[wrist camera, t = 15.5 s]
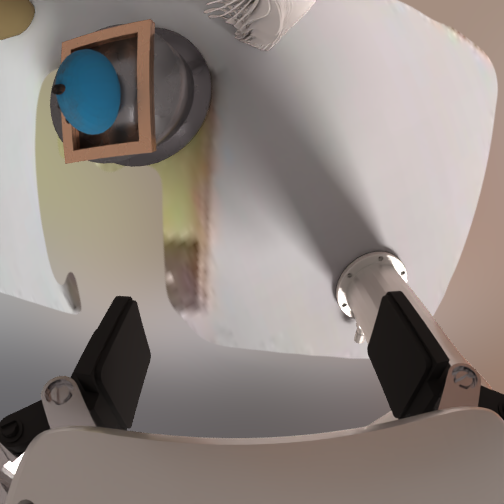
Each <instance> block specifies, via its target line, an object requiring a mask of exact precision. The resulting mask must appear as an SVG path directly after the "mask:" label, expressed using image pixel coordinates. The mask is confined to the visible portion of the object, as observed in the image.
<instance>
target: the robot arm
mask: <svg viewBox="0 0 504 504" xmlns="http://www.w3.org/2000/svg"><path fill="white" fill-rule="evenodd" d="M336 297H337V301H338V304H339V306H340V308H341V310H342V311H343V312H344V313H345V314H346V315H348V316H349V317H352V318H354V319H356V322H357V323H356V326H357V330H356V334H355V337H354V341H355V342H356V343H363V342H364V341H365V339H366V341H367V343H368V349H367V350H368V355H369V358H370V360H371V362H372V365H373V367H374V369H375V371H376V374H377V376H378V379H379V381H380V383H381V386H382V388H383V391H384V393H385V395H386V398H387V401H388V403H389V406H390V408H391V411H390V412H388V413H387V414H385V415H384V416H382V417H381V418H379V419H377V420H376V421H375V422H373V423H371V424H370V425H368V426H365V427H360V428H354V429H348V430H341V431H334V432H326V433H319V434H309V435H299V436H287V437H269V438H201V437H183V436H171V435H161V434H151V433H142V432H134V431H127V428H131V426H132V422H133V419H134V415H135V411H136V407H137V404H138V400H139V397H140V393H141V389H142V386H143V383H144V379H145V376H146V373H147V369H148V366H149V363H150V358H151V354H150V349H149V346H148V342H147V339H146V335H145V332H144V328H143V325H142V321H141V317H140V313H139V310H138V305H137V302H136V301H134V300H132V298H131V297H126V296H116V297H115V299H114V300H113V302H112V304H111V306H110V308H109V309H108V311H107V313H106V314H105V316H104V318H103V320H102V321H101V323H100V325H99V327H98V329H96V331H95V332H94V334H93V335H92V337H91V339H90V341H89V343H88V345H87V346H86V348H85V350H84V352H83V354H82V356H81V358H80V360H79V362H78V364H77V366H76V368H75V370H74V372H73V374H72V376H71V378H70V377H66V376H59V377H55V378H53V379H51V380H50V381H48V382H47V383H46V384H45V386H44V387H43V389H42V392H41V399H42V400H40V401H38V402H36V403H34V404H32V405H30V406H28V407H25V408H23V409H21V410H19V411H17V412H15V413H13V414H10V415H8V416H6V417H5V418H3V420H1V422H0V504H504V394H501V393H499V392H496V391H494V390H493V389H492V388H491V386H490V385H489V384H488V382H486V380H485V379H484V378H483V377H482V376H481V375H480V374H479V373H478V372H477V370H476V369H474V367H472V366H471V364H470V363H469V362H468V361H467V360H466V359H465V358H464V357H463V355H462V354H461V353H460V352H459V351H458V349H457V348H456V347H455V346H454V344H453V343H452V342H451V340H450V339H449V338H448V337H447V335H446V334H445V333H444V331H443V330H442V328H441V327H440V326H439V324H438V323H437V322H436V320H435V319H434V318H433V316H432V315H431V314H430V312H429V311H428V310H427V308H426V307H425V306H424V304H423V303H422V302H421V301H420V299H419V298H418V297H417V295H416V294H415V293H414V292H413V290H412V289H411V288H410V287H409V285H408V284H407V272H406V268H405V266H404V264H403V263H402V262H401V261H400V260H399V259H398V258H397V257H396V256H395V255H393V254H391V253H387V252H372V253H368V254H365V255H363V256H361V257H359V258H357V259H356V260H355V261H353V262H352V263H351V264H350V265H349V266H348V267H347V268H346V269H345V270H344V272H343V273H342V275H341V277H340V279H339V281H338V284H337V288H336Z"/></svg>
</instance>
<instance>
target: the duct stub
mask: <svg viewBox="0 0 504 504" xmlns="http://www.w3.org/2000/svg"><path fill="white" fill-rule="evenodd" d="M83 49H90V50H94V51H97V52H100V53H101V54H103V55H104V56H105V57H106V58H107V59H108V60H109V61H110V62H111V63H112V65H113V67H114V69H115V71H116V73H117V76H118V79H119V83H120V92H121V98H120V107H119V111H118V116H117V118H116V120H115V121H114V123H113V125H112V126H111V127H110V128H109V129H107V130H106V131H105V132H103V133H100V134H94V135H91V134H86V133H83V132H81V133H80V132H79V131H78V130H77V129H76V128H74V127H73V126H72V125H71V124H70V123H69V124H68V123H67V122H66V120H65V117H64V115H63V113H62V112H61V109H59V108H58V101H57V97H56V94H53V93H52V91H51V100H50V108H51V116H52V121H53V124H54V127H55V130H56V132H57V134H58V136H59V138H60V139H61V141H62V142H63V145H64V155H65V163H66V164H67V163H73V162H79V161H85V160H88V161H92V162H96V163H116V164H120V165H124V166H145V165H150V164H154V163H157V162H160V161H162V160H164V159H167V158H168V157H170V156H172V155H174V154H175V153H177V152H178V151H179V150H181V149H182V148H183V147H185V146H186V145H187V144H188V143H189V142H190V141H191V140H192V139H193V137H194V136H195V135H196V134H197V132H198V131H199V129H200V128H201V126H202V124H203V122H204V120H205V118H206V116H207V113H208V110H209V107H210V102H211V94H212V84H211V77H210V72H209V69H208V66H207V64H206V61H205V60H204V58H203V56H202V55H201V53H200V52H199V51H198V49H197V48H196V47H195V46H194V45H193V44H192V43H191V42H190V41H189V40H187V39H186V38H184V37H183V36H181V35H180V34H177V33H175V32H173V31H170V30H166V29H161V28H155V23H154V22H153V21H152V20H151V19H149V20H143V21H138V22H133V23H129V24H120V25H113V26H109V27H106V28H103V29H100V30H98V31H96V32H93V33H90V34H87V35H83V36H80V37H77V38H74V39H71V40H68V41H65V42H63V43H62V52H61V63H62V62H63V61H64V59H65V58H66V57H67V56H69V55H70V54H72V53H73V52H75V51H78V50H83ZM57 72H58V71H57ZM56 76H57V74H56ZM55 82H56V77H55V79H54V83H53V86H54V84H55ZM53 86H52V88H53Z"/></svg>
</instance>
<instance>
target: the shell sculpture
mask: <svg viewBox="0 0 504 504" xmlns="http://www.w3.org/2000/svg"><path fill="white" fill-rule="evenodd" d="M230 1H231V2H230ZM315 1H316V0H217V1H213V2H209V3H207V5H209V4H212V3H218V2H219V3H222V4H224V6H222V7H220V8H212V9H208V10H206V11H204V13H210V12H213V11H216V10H221V11H223V12H225V13H224V14H222V15H211V16H209V18H216V17H222V18H225V19H227V20H226V21H225V22H226V23H229V24H233V25H234V27H235V28H237V30H236V31H239V32H235V35H236V36H235V38H236V39H239V41H243V43H247V44H249V45H250V46H253V47H256V48H258V49H260V50H265V51H268V50H270V49H271V48H272V47H273V46H274V45H275V44H276V43H277V42H278V41H279V40H280V38H281V37H282V36H283V35H285V34H286V33H287V31H288V30H289V29H290V28H292V27H293V26H294V25H295V24H296V23H297V22H298V21H299V20H300V19H301V18H302V17H303V16H304V15H305V14H306V13H307V12H308V11H309V9H310V8H311V7H312V6H313V4H314V3H315ZM237 4H238V5H237ZM233 5H234V6H235V7H234V8H233ZM244 5H245V6H244ZM243 6H244V7H243ZM226 7H228V8H229V9H230V11H227V10H226V9H224V8H226ZM241 7H242V9H241V10H240V8H241ZM248 7H249V8H248ZM246 8H247V9H246ZM237 9H238V10H239V12H238V13H237V12H236V10H237ZM244 11H245V12H244ZM232 12H234V13H235V14H236V15H234V16H233V15H231V14H230V13H232ZM227 14H228V15H230V16H231V18H230V19H229V18H226V17H224V15H227ZM240 14H242V15H243V16H240ZM238 16H239V17H240V18H241V19H238V18H237V17H238ZM235 19H237V20H238V21H236V20H235ZM242 22H243V23H242ZM246 24H247V25H246ZM249 32H251V33H249ZM243 33H244V34H243ZM249 34H250V35H249ZM246 35H247V36H246Z"/></svg>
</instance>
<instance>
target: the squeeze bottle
mask: <svg viewBox="0 0 504 504" xmlns="http://www.w3.org/2000/svg"><path fill="white" fill-rule="evenodd" d="M34 13H35V9H34V6H33V5H32V4H31V2H30V1H29V0H0V40H3V39H6V38H9V37H13V36H16V35H19V34H21V33H22V32H24V31H25V30H26V29H27V28H28V26H29V25H30V24H31V22H32V20H33V17H34Z"/></svg>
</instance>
